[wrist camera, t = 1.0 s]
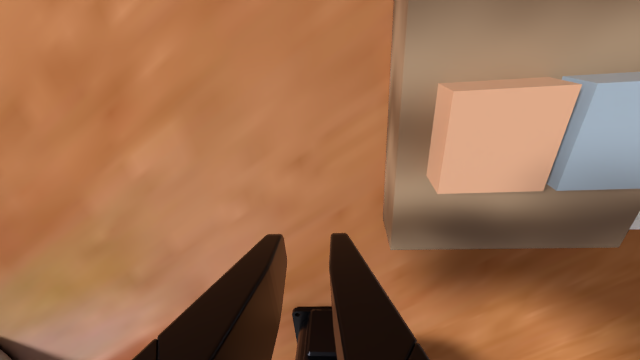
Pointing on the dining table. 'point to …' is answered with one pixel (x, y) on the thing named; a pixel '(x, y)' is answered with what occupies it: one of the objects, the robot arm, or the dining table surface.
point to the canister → (4, 356)
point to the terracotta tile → (498, 134)
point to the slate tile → (601, 135)
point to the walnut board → (498, 64)
